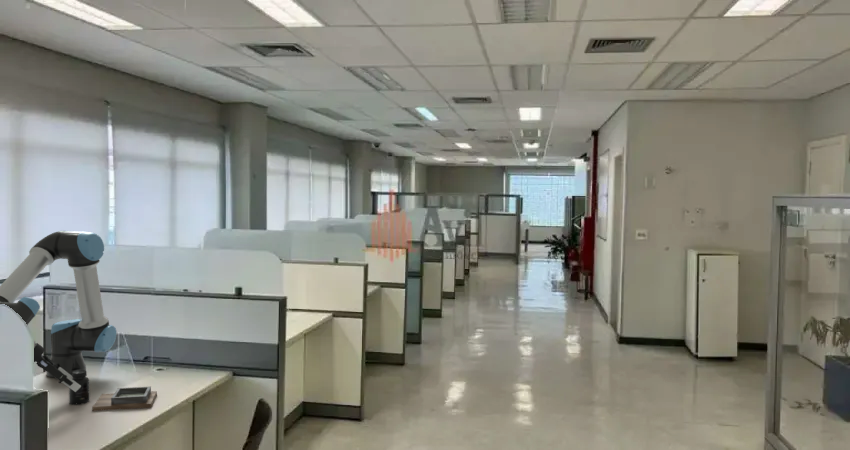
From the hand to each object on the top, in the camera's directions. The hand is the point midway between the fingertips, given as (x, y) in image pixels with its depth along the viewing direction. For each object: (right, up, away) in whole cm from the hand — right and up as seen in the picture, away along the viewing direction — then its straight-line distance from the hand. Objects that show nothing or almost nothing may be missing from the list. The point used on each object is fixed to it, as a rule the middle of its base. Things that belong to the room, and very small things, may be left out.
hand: (74, 384), depth 235 cm
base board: (+18, -8, +3) cm, 20 cm away
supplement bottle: (+1, -8, +2) cm, 8 cm away
